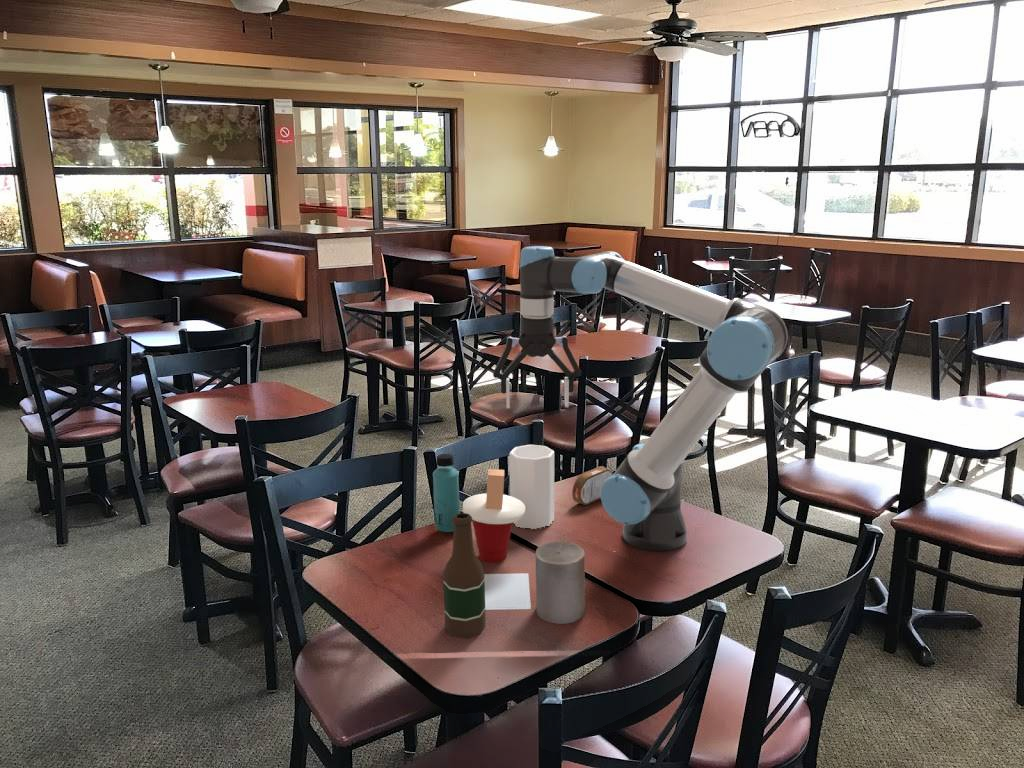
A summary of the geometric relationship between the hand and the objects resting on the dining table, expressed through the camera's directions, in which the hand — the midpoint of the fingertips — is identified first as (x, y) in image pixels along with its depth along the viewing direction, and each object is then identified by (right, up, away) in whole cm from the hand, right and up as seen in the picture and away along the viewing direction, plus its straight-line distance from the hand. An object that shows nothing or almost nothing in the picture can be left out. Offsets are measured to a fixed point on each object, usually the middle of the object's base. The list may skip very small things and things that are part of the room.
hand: (537, 406), depth 190 cm
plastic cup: (-10, -35, -3) cm, 37 cm away
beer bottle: (-15, -43, -33) cm, 56 cm away
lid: (-10, -23, -7) cm, 26 cm away
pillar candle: (+4, -41, -27) cm, 49 cm away
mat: (-10, -39, -19) cm, 44 cm away
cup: (-1, -30, +17) cm, 34 cm away
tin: (+16, -26, +30) cm, 43 cm away
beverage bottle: (-22, -31, +11) cm, 40 cm away
